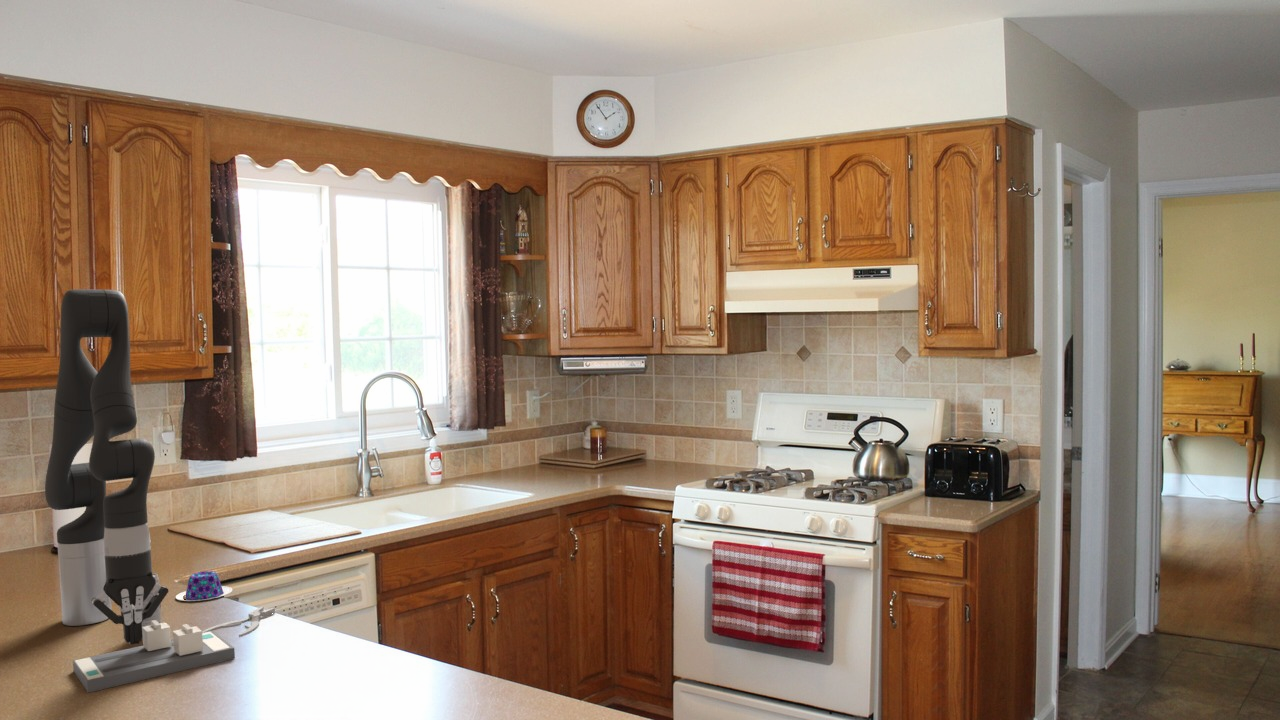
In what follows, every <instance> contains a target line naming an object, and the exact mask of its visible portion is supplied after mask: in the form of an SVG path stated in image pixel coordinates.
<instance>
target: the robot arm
mask: <svg viewBox="0 0 1280 720" xmlns="http://www.w3.org/2000/svg"><path fill="white" fill-rule="evenodd" d="M59 334H60V336H59V337H60V339H59V340H60V343H59V344H60V345H59V346H60V347H59V351H60V352H59V365H58V373H57V382H56V387H55V388H56V391H55V395H54V396H55V397H54V408H53V409H54V411H53V428H52V429H53V431H52V442H51V450H50V453H49V454H50V455H49V460H48V464H47V470H46V475H45V481H44V482H45V483H44V495H45V501H46V503H47V505H48V506H49V508H51V509H52V510H55V511H61V510H62V511H64V510H72V509H80V508H85V510H84V512H83V513H82V514H81V515H80V516H78V517H77V518H75V519H74V520H72V521H70V522H68V523H66V524H64V525H62V526H60V527H59V528H58V529H57V530H56V531H57V532H56V541H57V556H58V570H59V584H60V585H59V587H60V601H61V616H62V617H61V618H62V619H61V620H62V624H63V625H64V626H70V627H72V626H73V627H74V626H76V627H77V626H87V625H91V624H96V623H100V622H103V621H106V620H108V619H109V620H110V621H111V622H112V623H113V624H115V625H118V624H119V625H120V624H121V625H122V627H123V639H124V641H125V642H126V643H128V644H129V645H130V646H132V645H137V644H138V645H139V643H140V641H142V640H141V639H142V637H143V636H142V621H143V620H144V619H146V618H150V617H151V616H152V615H153V613H154V612H155V611H156V609H157V608H158V606H159V605H160V603H162V602H163V600H164V599H165V597H166V596H167V594H169V588H167V587H166V586H165V585H163V584H162V585H161V584H160V583H159V584H157V583H156V580H155V578H154V577H153V575H152V573H153V565H152V562H153V561H152V548H151V547H152V542H151V541H152V540H151V533H150V529H149V523H148V507H147V506H148V504H147V500H148V499H147V498H148V490H149V485H150V479H151V477H152V472H153V468H154V464H155V459H156V458H155V457H156V456H155V450H154V447H153V445H152V443H151V442H149V441H148V440H147V439H144V438H131V439H122V440H114V441H113V440H111V439H112V438H115V437H118V436H121V435H123V434H126V433H130V432H131V431H133V430H134V429H135V428H136V426H137V422H138V419H137V412H136V406H135V399H134V395H133V389H132V379H131V377H132V376H131V341H130V315H129V308H128V304H127V300H126V297H125V296H124V294H123V293H122V292H121V291H119V290H115V289H97V288H96V289H89V288H88V289H87V288H85V289H82V288H81V289H79V288H77V289H75V288H74V289H69V290H67V291H66V292H65V293H64V295H63V297H62V301H61V307H60V333H59ZM83 338H110V349H109V352H108V355H107V356H106V359H105V361H104V362H103V364H102V365H101V367H100V369H99V370H96V368H95V367H94V366H93V365H92V363H91V362H90V360H89V359H88V358H87V356H86V354H85V352H84V350H83V349H82V346H81V339H83ZM92 438H93V439H92ZM91 439H92V446H91V448H90V455H89V461H88V462H84V463H83V462H82V463H74V464H73V462H74V460H75V458H76V456H77V454H78V453H79V452H80V451H81V450H82V448H83V447H84V446H86V444H87V443H88V442H89V441H90V440H91ZM126 479H132V481H131V483H130V484H129V486H127V487H126V488H124V489H121V490H119V491H115V492H113V493H110V494H108V495H107V482H108V481H109V482H110V481H116V480H118V481H119V480H126ZM152 589H153V591H152V594H153V597H152V598H151V600H150V601H149V602H148V604H147V605H146V607H145V608H144V610H143V602H144V601H145V600H146V598H147V597H148V595H149V594H150V592H151V590H152ZM112 601H113V603H114V604H115V605H117V606H119V611H120V614H117V613H115V612H114V611H113V608H112ZM131 604H132V618H131ZM142 610H143V611H142ZM132 619H133V622H132Z"/></svg>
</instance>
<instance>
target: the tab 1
mask: <svg viewBox="0 0 1280 720" xmlns="http://www.w3.org/2000/svg"><path fill="white" fill-rule="evenodd" d="M171 630H172V629H171V626H170V624H168V623H166V622H162V623H159V622H157V621H156V620H153V621H151V625H150V626H145V627H142V636H143V640H142V646H143V647H144V648H145V649H146V650H147V651H152V650H157V649H161V648H166V647H170V646H172V643H171V639H172V631H171Z"/></svg>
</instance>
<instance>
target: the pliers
mask: <svg viewBox="0 0 1280 720" xmlns="http://www.w3.org/2000/svg"><path fill="white" fill-rule="evenodd" d="M275 610H276V609H275V607H271V608H268V609H264V606H260V607H258V608H256V609H253V610H252V611H251V612H249V613H248V616H247V617H245V618H241V619H236V620H231V621H228V622H226V621H225V622H223V623H219V624H217V625H214V626H211V627H209V628H206V629H204V630H201V631H202V633H204V632H209V631H216V630H218V629H221V628H231V627H236V626H241V625H242V624H244V623H245V624H244V627H245V628H246V629H245V630H244V631H243V632H241V633H239V634H238V637H240V636H241V637H243V635H244V636H246V635H248V634H250V633H253V632H254V631H255V630H257V629H258V628H259V626H260V621H261V620H262V619H266V618H268V617H270V616H272V615H274V614H275V615H276V611H275ZM272 613H273V614H272ZM248 621H250V624H251V625H248V623H247V622H248Z"/></svg>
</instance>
